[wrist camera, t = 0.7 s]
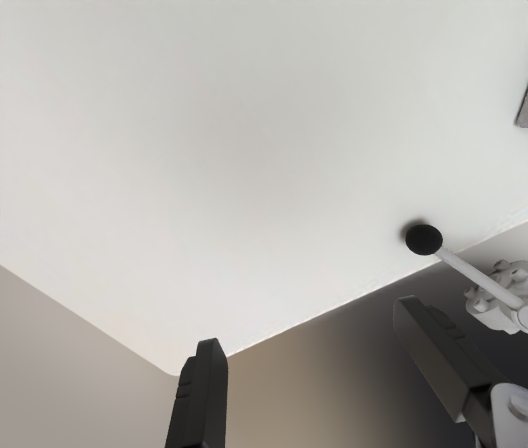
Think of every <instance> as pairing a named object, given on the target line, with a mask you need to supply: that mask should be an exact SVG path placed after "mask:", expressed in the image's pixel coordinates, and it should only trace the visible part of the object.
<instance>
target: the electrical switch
mask: <svg viewBox="0 0 528 448" xmlns="http://www.w3.org/2000/svg"><path fill="white" fill-rule="evenodd" d="M517 123H518V124H519V126H520V127H523V128H528V93H527V96H526V98H525V101H524V104H523V107H522V109H521V112H520V115H519V118H518V120H517Z"/></svg>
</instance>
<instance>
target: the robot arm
mask: <svg viewBox="0 0 528 448" xmlns="http://www.w3.org/2000/svg"><path fill="white" fill-rule="evenodd" d="M393 326H394V329H395V332H396V334H397V336H398V337H399V339H400V340H401V342H402V343H403V345H404V346H405V348H406V349H407V351H408V352H409V354H410V355H411V356H412V358H413V360H414V361H415V363H416V364H417V366H418V367H419V369H420V370H421V372H422V373H423V375H424V376H425V378H426V379H427V381H428V383H429V384H430V386H431V387H432V389H433V390H434V392H435V393H436V395H437V396H438V397H439V399H440V401H441V402H442V404H443V405H444V406H445V408H446V410H447V411H448V413H449V414H450V416H451V417H452V419H453V420H454V422H455V423H457V422H462V421H467V422H468V424H469V425H470V427H471V428H472V430H473V447H474V448H528V390H527V389H525V388H523V387H520V386H518V385H515V384H513V383H512V382H511V381H509V380H508V379H507V378H506V377H505V376H504V375H503V374H502V373H501V372H500V371H499V370H498V369H497V368H496V367H495V366H494V365H493V363H492V362H491V361H490V360H489V359H488V358H487V357H486V356H485V355H484V354H483V353H482V352H481V351H480V350H479V349H478V348H477V347H476V346H475V345H474V344H473V342H472V341H471V340H470V339H469V338H467V337H466V336H465V334H464V333H463V332H462V331H461V330H460V329H459V328H457V327H456V325H455V324H454V323H453V322H452V321H451V319H450V318H449V317H448V316H447V315H446V314H444V313H443V312H441V311H440V310H438V309H437V308H435V307H433V306H432V305H429V306H424V305H423V304H422V303H421V302H420V300H419V299H418V298H417V297H416V296H414V295H411V296H407V297H402V298H397V299H395V300H394V310H393ZM178 385H179V387H178V388H177V393H176V400H175V402H174V407H173V411H172V416H171V421H170V425H169V430H168V435H167V439H166V444H165V448H225V434H226V409H227V387H228V364H227V359H226V356H225V354H224V352H223V350H222V348H221V345H220V343H219V341H218V339H217V338H212V339H208V340H203V341H200V342H199V343H198V346H197V352H196V356H193V357H189V358H188V359H187V361H186V363H185V365H184V367H183V368H182V370H181V374H180V379H179V384H178Z"/></svg>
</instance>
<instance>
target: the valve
mask: <svg viewBox="0 0 528 448" xmlns="http://www.w3.org/2000/svg"><path fill="white" fill-rule="evenodd" d="M405 241H406V245H407V246H408V248H409V249H410V250H411V251H412V252H414V253H416V254H418V255H431V254H435V255H436V256H438V257H439V258H440V259H442V260H443V261H445V262H446V263H448V264H449V265H451V266H452V267H453V268H455V269H456V270H458V271H459V272H461V273H462V274H464V275H465V276H466V277H468V278H469V279H471V280H472V281H474V282H475V283H477V284H478V286H477V287H476V288H475V289H474V288H473V287H468V288H467V289H465V291H464V292H463V294H464V295H465V296H467V297H468V301H467V303H466V309H467V311H468V312H470V314H472V315H473V316H474V317H476V318H477V319H478V320H480V321H481V322H482V323H484V324H485V325H486V326H488V327H489V328H491V329H494V330H505V331H506V332H508V333H509V334H514V333H516V332H518V331H519V330H522V331H524V332H526V333H528V261H525V260H523V261H516V262H513V263H510V264H509V263H508V262H506V261H505V260H500V261H498V262H497V263H496V264H495V265H494V268H495V269H497V270H496V271H494V272H493V273H492V274H490V275H489V276H486V275H485V274H483V273H482V272H480V271H479V270H477V269H476V268H474V267H473V266H471V265H470V264H468V263H467V262H466V261H464V260H462V259H461V258H460V257H458V256H457V255H455V254H454V253H452V252H451V251H449V250H448V249H446V248H445V247H443V246H442V242H443V238H442V235H441V233H440V232H439V230H437V229H436V228H435V227H433V226H430V225H417V226H414V227H412V228H411V229H410V230H409V231H408V232H407V234H406V238H405Z"/></svg>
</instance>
